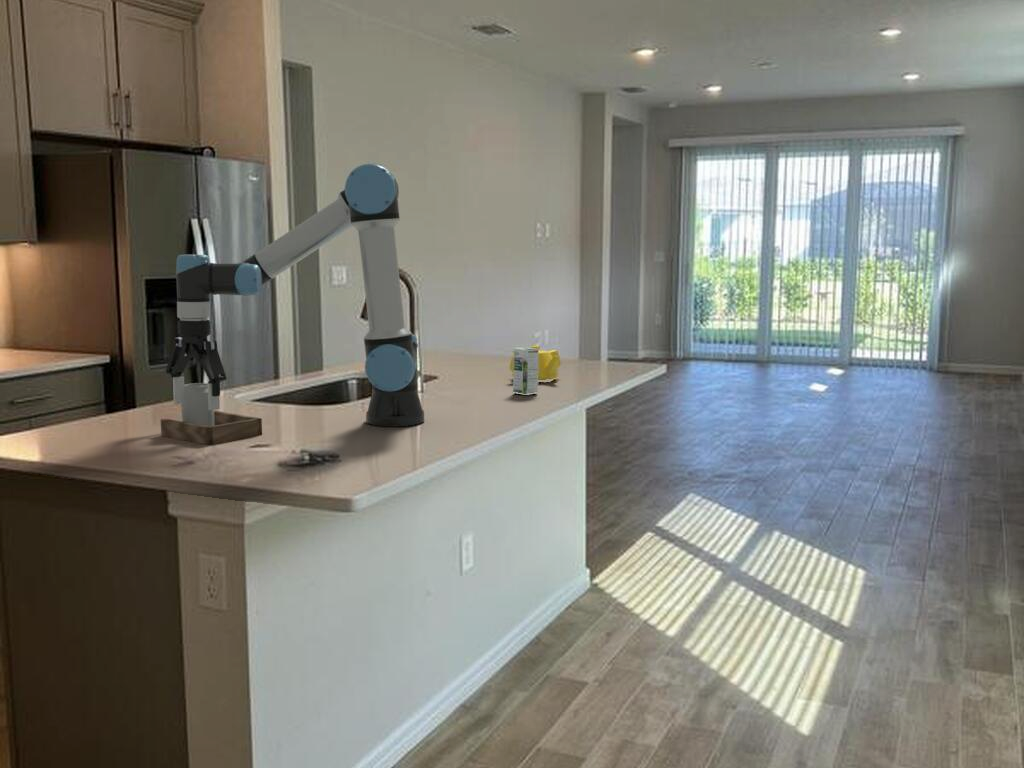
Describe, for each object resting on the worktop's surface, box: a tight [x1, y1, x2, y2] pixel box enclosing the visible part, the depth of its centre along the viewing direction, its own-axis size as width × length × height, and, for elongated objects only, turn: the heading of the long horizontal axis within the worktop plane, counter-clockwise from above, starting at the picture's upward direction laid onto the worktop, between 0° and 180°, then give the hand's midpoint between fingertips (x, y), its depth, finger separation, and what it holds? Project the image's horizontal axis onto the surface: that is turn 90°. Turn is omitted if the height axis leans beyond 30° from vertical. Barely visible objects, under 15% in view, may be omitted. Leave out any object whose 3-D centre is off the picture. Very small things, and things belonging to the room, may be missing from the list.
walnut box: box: [160, 410, 263, 446], centre depth 233 cm, size 18×15×4 cm
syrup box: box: [512, 346, 539, 394], centre depth 298 cm, size 6×6×14 cm
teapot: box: [509, 345, 562, 380], centre depth 329 cm, size 17×17×12 cm
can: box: [180, 382, 215, 427], centre depth 235 cm, size 8×8×12 cm
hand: (196, 406), depth 235 cm, fingers open, 13 cm apart
